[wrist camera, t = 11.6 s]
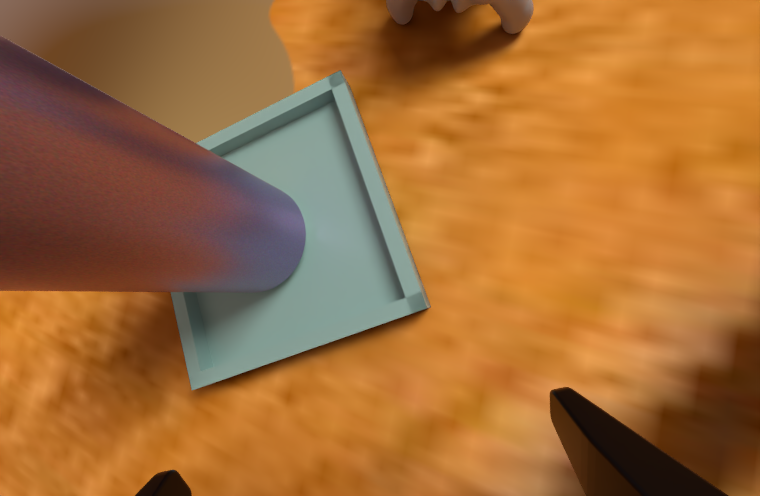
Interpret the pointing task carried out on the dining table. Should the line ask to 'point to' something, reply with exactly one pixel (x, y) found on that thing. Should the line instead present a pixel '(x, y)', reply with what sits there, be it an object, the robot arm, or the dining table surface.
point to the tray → (307, 240)
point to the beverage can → (125, 197)
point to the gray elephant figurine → (508, 3)
